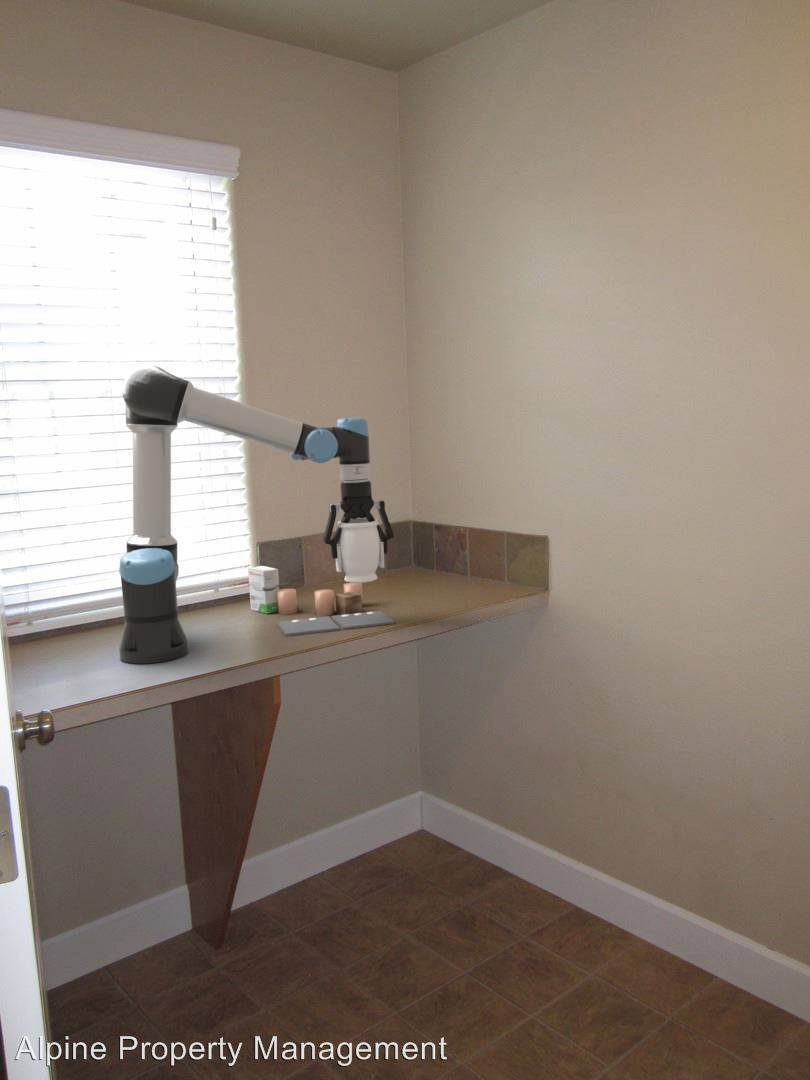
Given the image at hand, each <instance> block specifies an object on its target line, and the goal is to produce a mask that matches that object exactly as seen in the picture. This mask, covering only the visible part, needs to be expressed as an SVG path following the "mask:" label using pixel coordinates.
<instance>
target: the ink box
mask: <svg viewBox="0 0 810 1080" xmlns="http://www.w3.org/2000/svg"><path fill="white" fill-rule="evenodd" d="M247 571H248V584H249V598H250V599H249V600H250V602H249V603H250V610H251V611H255V612H259V613H262V614H266V615H269V614H271V613H272V614H273V613H278V599H277V591H278V590H280V580H279V579H280V577H279V569H278V568H275V567H271V566H265V565H260V566H259V565H258V566H251V567H247Z"/></svg>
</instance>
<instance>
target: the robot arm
mask: <svg viewBox="0 0 810 1080" xmlns="http://www.w3.org/2000/svg"><path fill="white" fill-rule="evenodd" d="M121 388H122V390H121V391H122V397H123V400H124V402H125V426H126V427H127V428H128V429H129V430H130V431H131V432H132V510H133V511H132V513H133V514H132V516H133V517H132V518H133V519H132V522H133V524H132V525H133V526H132V527H133V528H132V529H133V531H132V533H133V534H132V535H131V536H130V537H129V538H128V539H127V540H126V553H125V554H123V555H122V556H121V558H120V560H119V568H118V571H119V572H118V573H119V575H120V580H121V581H120V582H121V592H122V593H121V595H122V603H123V604H122V605H123V614H124V615H123V616H124V626H123V627H124V628H123V631H122V635H121V638H120V643H119V644H120V645H119V648H118V649H119V650H118V653H119V659H120V661H122V662H125V663H130V664H154V663H162V662H167V661H172V660H174V659H175V660H176V659H178V658H180V657H183V656H186V655H187V654H188V653H189V652H190V647H189V646H190V645H189V640H188V638H187V636H186V634H185V633H186V632H185V630H184V628H183V626H182V623H181V622H180V619H179V609H178V598H177V596H178V595H177V580H178V576H179V572H180V571H179V569H180V568H179V563H178V540H177V539H176V538H175V537H174V536H173V535H172V531H171V529H172V523H171V522H172V520H171V519H172V515H171V514H172V511H171V509H172V502H171V501H172V500H171V499H172V497H171V496H172V492H171V491H172V488H171V487H172V483H171V482H172V478H171V477H172V473H171V472H172V466H171V465H172V433H173V432H174V431H175V430H176V429H177V427H178V424H180V423H182V422H188V423H192V424H195V425H197V426H200V427H203V428H207V429H211V430H214V431H218V432H221V433H224V434H226V435H230V436H234V437H236V438H240V439H243V440H246V441H250V442H253V443H255V444H260V445H261V446H265V447H268V448H272V449H275V450H279V451H281V452H284V453H288V454H289V457H290V458H291V459H292V460H294V461H306V460H307V461H308V460H310V461H311V462H314V463H318V464H323V463H328V462H330V460H332V459H336V458H338V460H339V461H338V463H339V479H340V480H341V481H342V482H341V483H340V494H341V495H340V496H341V498H340V499H341V501H340V503H335V504H334V503H330V504H329V506H328V509H329V514H328V517H327V518H328V519H327V521H326V522H327V523H326V527H325V531H324V535H323V539H322V541H323V543H324V544H325V545H329V546H330V552H331V558H332V559H333V560H335V570H336V572H337V573H342V572H343V571H342V569H343V568H342V563H341V551H340V546H339V545H338V542H339V540H340V538H341V532H342V528H339V527H338V526H337V528H336V530H335V532H334V534H333V530H334V527H335V522H336V518H337V513H339V511H340V509H341V510H342V511H343V515H342V517H341V520H340V521H341V523H348V522H349V521H350V519H367V520H368V521H369V522H372V521H375V518H374V516H373V514H372V513H371V510H372V509H373V507H374V506H375V507H374V508H375V509H377V512H378V514H379V518H380V520H381V524H382V526H383V529H384V531H385V533H384V531H383V529H381V527H380V525H379V524H378V525H377V530H378V533H379V539H380V553H379V562H378V567H380V569H385V555H387V554H388V541H389V540H391V539H394V537H395V533H394V531H393V529H392V526H391V523H390V521H389V517H388V515H387V512H386V508H385V507H386V504H385V503H386V502H385V501H384V500H382V499H379V500H374V499H373V498H372V497H373V495H372V482H371V481H370V479H371V463H370V461H371V460H370V435H369V429H368V421H367V420H366V418H364V417H350V418H348V417H347V418H346V417H345V418H338V419H337V422H336V426H333V427H317V426H313V425H311V424H308V423H303V422H301V421H299V420H295V419H293V418H289V417H286V416H282V415H279V414H277V413H274V412H270V411H267V410H265V409H262V408H258V407H256V406H252V405H249V404H246V403H244V402H240V401H238V400H237V401H236V400H234V399H231V398H228V397H224V396H221V395H219V394H215V393H212V392H208V391H206V390H203V389H201V388H200V389H199V388H197V387H194V385H193V383H192V382H191V381H190V380H187V379H183V378H181V377H178V376H176V375H174V374H172V373H170V372H168V371H166V370H165V369H163V368H161V367H159V366H156V365H153V364H152V365H151V364H145V365H140V366H137V367H135V368H133V369H132V370H131V371H129V373H127V375H126V376H125V378H124V380H123V382H122V387H121ZM332 534H333V535H332Z"/></svg>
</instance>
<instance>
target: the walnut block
mask: <svg viewBox="0 0 810 1080" xmlns="http://www.w3.org/2000/svg"><path fill="white" fill-rule="evenodd" d="M334 598H335V610H336V611H335V614H338V615H341V614H342V615H345V614H354V613H363V606H362V600H361V594H358V593H354V592H347V593H344V592H343V593H336V594H334Z"/></svg>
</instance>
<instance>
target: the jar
mask: <svg viewBox="0 0 810 1080" xmlns="http://www.w3.org/2000/svg"><path fill="white" fill-rule="evenodd" d="M374 519H375V518H374ZM377 525H379V519H375V521H372V522H369V521H368V520H367V519H366V518H356V519H350V521H349V522H348V523H341V520H340V521H337V528H338V527H339V528H342V532H341V538H340V540H339V542H338V543H337V545H339V546H340V551H341V568H342V569H343V571H344V573H345V576H344V579H343V580H344V582H346V583H362V584H363V583H370V582H374V581H376V580H377V579H378V575H377V574H376V571H377V569H378V567H379V553H380V541H381V539H380V538H379V533H378V530H377Z"/></svg>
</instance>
